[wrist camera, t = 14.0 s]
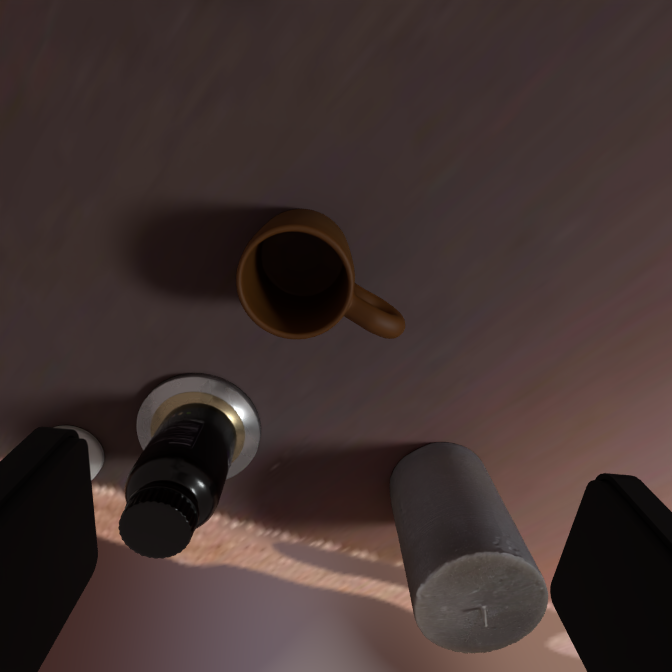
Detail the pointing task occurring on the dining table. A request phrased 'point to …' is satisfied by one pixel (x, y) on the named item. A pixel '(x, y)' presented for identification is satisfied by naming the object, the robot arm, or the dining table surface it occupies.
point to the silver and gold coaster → (206, 392)
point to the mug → (307, 280)
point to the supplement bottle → (177, 480)
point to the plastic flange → (90, 449)
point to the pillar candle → (463, 552)
